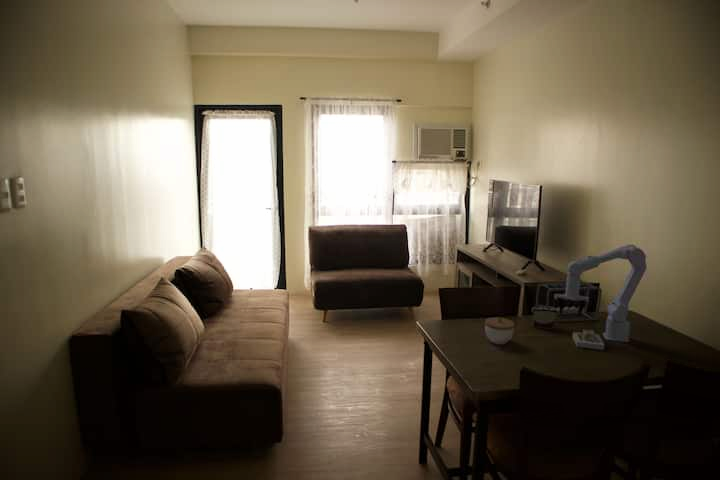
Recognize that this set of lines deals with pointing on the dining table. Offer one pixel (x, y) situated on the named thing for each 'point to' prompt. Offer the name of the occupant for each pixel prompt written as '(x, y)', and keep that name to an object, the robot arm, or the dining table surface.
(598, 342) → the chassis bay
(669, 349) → the dining table surface
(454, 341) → the dining table surface
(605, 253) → the robot arm
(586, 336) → the beige cardboard-like cube
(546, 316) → the food container
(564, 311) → the newton's cradle
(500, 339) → the lidded bowl
